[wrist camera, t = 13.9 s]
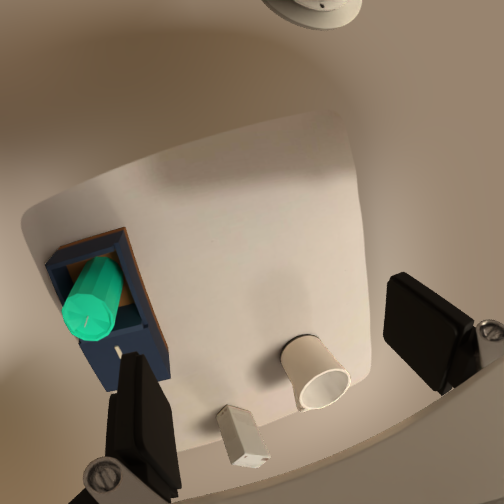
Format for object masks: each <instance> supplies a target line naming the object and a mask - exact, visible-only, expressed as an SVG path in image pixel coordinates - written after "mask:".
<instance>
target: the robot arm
mask: <svg viewBox="0 0 504 504" xmlns="http://www.w3.org/2000/svg"><path fill="white" fill-rule="evenodd" d="M290 1H292V2H293V3H295V4H297V5H298V6H300V7H303V8H305V9H308V10H311V11H316V12H330V11H334V10H336V9H338V8H340V7H341V6H343V5H344V4H345V3H346V2H347V0H290ZM473 324H474V320H473V319H472V318H470V317H469V316H468V315H466V314H465V313H464V312H462V311H461V310H459V309H458V308H457V307H455V306H454V305H452V304H451V303H449V302H448V301H447V300H445V299H444V298H442V297H441V296H440V295H438V294H437V293H435V292H434V291H432V290H431V289H429V288H428V287H426V286H425V285H423V284H422V283H420V282H419V281H417V280H416V279H414V278H413V277H411V276H410V275H409V274H407V273H405V272H401V273H399V274H396V275H393V276H391V277H390V280H389V281H388V283H387V294H386V307H385V319H384V330H383V337H384V340H385V341H386V343H387V344H388V345H389V346H390V347H391V348H392V349H393V350H394V351H395V352H396V353H397V354H398V355H399V356H400V357H401V358H402V359H403V360H404V361H405V362H406V363H407V364H408V365H409V366H410V367H411V368H412V369H413V370H414V371H415V372H416V373H417V374H418V375H419V376H420V377H421V378H422V379H423V380H424V382H425V383H427V385H428V386H429V387H430V388H431V389H432V390H433V391H438V392H439V394H441V396H442V395H444V394H446V393H447V392H448V391H450V390H451V389H452V387H454V388H455V389H453V390H452V391H450V392H449V393H447V394H446V395H444V396H443V397H441V398H440V399H439V400H437V401H435V402H433V403H432V404H430V405H429V406H427V407H425V408H424V409H422V410H420V411H419V412H417V413H415V414H414V415H412V416H411V417H409V418H407V419H405V420H403V421H402V422H400V423H398V424H396V425H394V426H392V427H391V428H389V429H387V430H385V431H383V432H381V433H379V434H377V435H375V436H373V437H371V438H370V439H367V440H365V441H363V442H361V443H359V444H357V445H354V446H352V447H350V448H348V449H346V450H343V451H341V452H339V453H336V454H334V455H332V456H330V457H327V458H324V459H322V460H319V461H317V462H314V463H312V464H309V465H306V466H304V467H301V468H298V469H296V470H292V471H289V472H287V473H284V474H281V475H277V476H274V477H271V478H268V479H265V480H261V481H258V482H254V483H251V484H247V485H244V486H240V487H236V488H233V489H228V490H224V491H221V492H216V493H211V494H207V495H204V496H199V497H195V498H191V499H186V500H182V501H178V502H175V503H171V498H176V497H178V492H177V489H181V488H182V485H181V478H180V472H179V465H178V459H177V451H176V444H175V436H174V428H173V419H172V411H171V407H170V404H169V402H168V400H167V398H166V396H165V395H164V393H163V391H162V389H161V387H160V385H159V383H158V381H157V379H156V377H155V375H154V373H153V371H152V369H151V367H150V365H149V363H148V361H147V359H146V357H145V355H144V354H141V355H139V353H138V352H137V351H135V352H131V353H126V354H122V355H121V361H120V370H119V379H118V390H117V393H115V394H111V396H110V399H109V409H108V419H107V432H106V448H105V457H100V458H97V459H95V460H94V461H92V462H90V464H89V465H88V466H87V467H86V469H85V471H84V474H83V482H84V485H85V487H86V488H85V489H83V490H82V491H81V492H80V493H79V494H78V495H77V496H76V497H75V498H74V499H73V500H72V501H71V502H69V503H68V504H504V325H503V324H502V323H500V322H498V321H495V320H483V321H481V322H480V323H478V325H477V327H476V328H475V327H474V326H473Z"/></svg>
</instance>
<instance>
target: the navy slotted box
mask: <svg viewBox="0 0 504 504" xmlns="http://www.w3.org/2000/svg"><path fill="white" fill-rule="evenodd" d="M94 257H108V258H110V259H111V260H113V261H115V262H116V263H118V265H119V267H120V268H121V270H122V272H123V282H124V284H123V288H122V292H121V296H120V301H119V305H118V310H117V314H116V319H115V324H114V327H113V329H112V330H111V332H110V334H109V335H108V336H106V337H104V338H102V339H100V340H99V341H86V340H82V339H80V338H79V340H80V341H79V346H80V348H81V349H82V351H83V353H84V355H85V357H86V358H87V360H88V362H89V364H90V365H91V367H92V369H93V370H94V372H95V374H96V375H97V377H98V379H99V380H100V382H101V384H102V385H103V387H104V388H105V390H106V391H107V392H110V391H115V390H118V379H119V370H120V361H121V355H122V354H126V353H131V352H135V351H137V352H138V353H139V355H141V354H144V355H145V357H146V359H147V361H148V363H149V365H150V367H151V369H152V371H153V373H154V375H155V377H156V379H157V381H163V380H167V379H171V374H170V363H169V352H168V346H167V343H166V341H165V339H164V336H163V334H162V331H161V329H160V326H159V324H158V321H157V318H156V316H155V313H154V311H153V308H152V305H151V303H150V300H149V297H148V294H147V292H146V289H145V286H144V283H143V280H142V277H141V275H140V272H139V269H138V266H137V263H136V260H135V257H134V253H133V250H132V247H131V244H130V241H129V238H128V234H127V231H126V228H125V227H122V228H119V229H116V230H112V231H109V232H105V233H102V234H99V235H95V236H92V237H89V238H86V239H82V240H79V241H76V242H73V243H70V244H67V245H63V246H60V247H59V249H58V250H57V251H56V252H55V253H54V254H53V255H52V257H51V258H50V259H49V260H48V261H47V263H46V264H45V266H46V269H47V271H48V274H49V276H50V279H51V281H52V284H53V286H54V288H55V291H56V293H57V295H58V297H59V300H60V302H61V304H62V306H64V304H65V302H66V299H67V297H68V295H69V294H70V292H71V290H72V288H73V286H74V284H75V282H76V280H77V279H78V277H79V275H80V273H81V271H82V270H83V268H84V266H85V264H86V262H87V261H89V260H91V259H93V258H94Z"/></svg>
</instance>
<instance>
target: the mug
mask: <svg viewBox="0 0 504 504" xmlns="http://www.w3.org/2000/svg"><path fill="white" fill-rule="evenodd" d="M280 361H281V364H282V366H283V368H284V370H285V372H286V374H287V376H288V377H289V379H290V381H291V383H292V385H293V391H294V396H295V401H296V406H297V409H298V410H299V411H300V412H306V411H308V410H310V409H320V408H324V407H326V406H329V405H330V404H332V403H334V402H335V401H337V400H338V399H339V398H340V397H341V396H342V395H343V394H344V393H345V392H346V390H347V389H348V387H349V385H350V381H351V377H350V374H349V372H348V371H347V370H346V369H345V368H344V367H343V366H342V365H341V364H340V363H339V362H338V361H337V360H336V359H335V357H334V356H333V355H332V354H331V353H330V351H329V350H328V349H327V348H326V347H325V345H324V344H323V343H322V342H321V340H320V339H319V338H318V337H316V336H314V335H308V334H307V335H301V336H298V337H296V338H294V339H292V340H291V341H289V342H288V343H287V344H286V345H285V347H284V348H283V350H282V352H281V356H280ZM303 407H304V408H303Z"/></svg>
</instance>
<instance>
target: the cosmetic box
mask: <svg viewBox="0 0 504 504" xmlns="http://www.w3.org/2000/svg"><path fill="white" fill-rule="evenodd" d="M216 419H217V422H218V425H219V428H220V432H221V435H222V438H223V441H224V444H225V447H226V450H227V453H228V456H229V459H230V462H231V464H232V465H239V466H245V467H252V468H258V467H259V466H261V465H262V464H263V463H264V462H265V461H267V460H268V459H269V458H270V457H271V456H270V454H269V452H268V449H267V447H266V445H265V443H264V441H263V438H262V436H261V434H260V432H259V429H258V427H257V425H256V423H255V420H254V418H253V416H252V413H251V412H250V411H246V410H243V409H239V408H236V407H233V406H230V405H227V406H226V407H224V408H223V409H222V410H221V411H220V412H219V414H218V415H217V416H216Z"/></svg>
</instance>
